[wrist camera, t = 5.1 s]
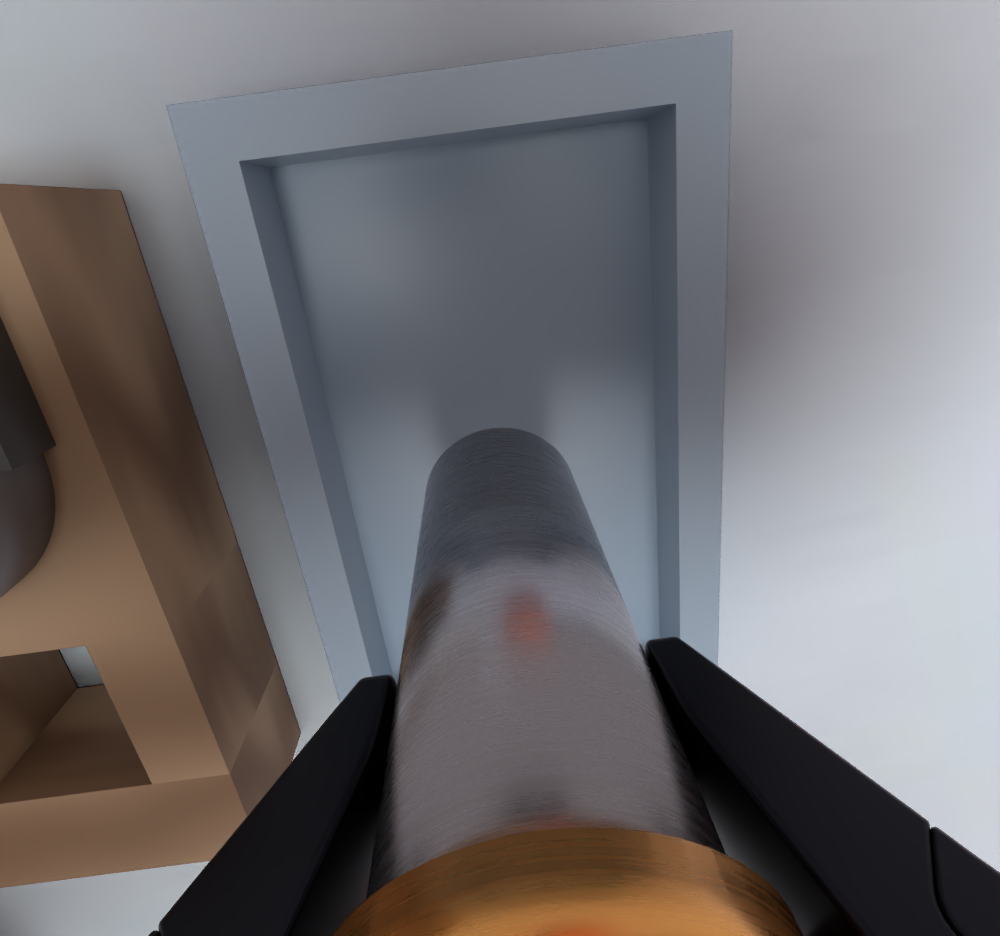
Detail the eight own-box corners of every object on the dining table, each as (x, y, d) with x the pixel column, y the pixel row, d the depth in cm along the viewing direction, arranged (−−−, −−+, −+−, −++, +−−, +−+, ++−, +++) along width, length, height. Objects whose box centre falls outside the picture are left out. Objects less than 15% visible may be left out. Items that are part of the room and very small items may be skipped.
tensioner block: (300, 733, 20) (233, 942, 14) (54, 765, 20) (-111, 987, 14) (120, 190, 13) (-131, 176, 8) (-242, 238, 13) (-751, 258, 8)
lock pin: (594, 563, 14) (869, 1314, 4) (427, 585, 14) (343, 1384, 4) (583, 401, 12) (960, 1014, 3) (396, 426, 12) (168, 1115, 3)
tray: (686, 658, 19) (716, 719, 17) (371, 699, 19) (358, 765, 17) (685, 62, 13) (732, 30, 11) (219, 124, 13) (165, 105, 11)
